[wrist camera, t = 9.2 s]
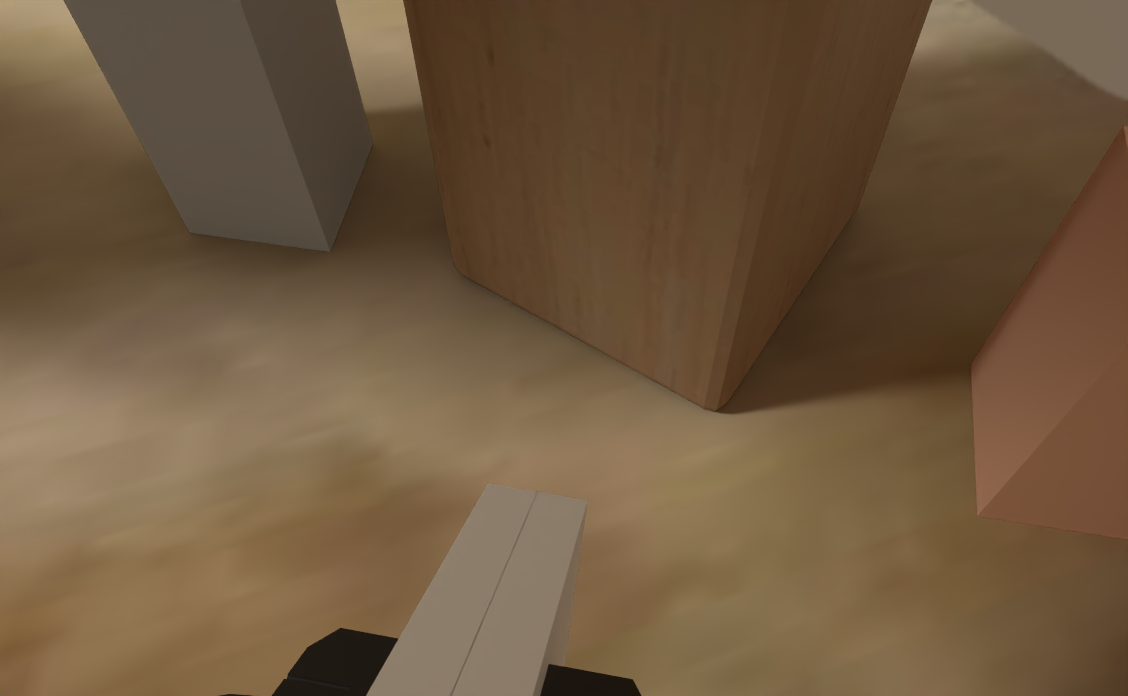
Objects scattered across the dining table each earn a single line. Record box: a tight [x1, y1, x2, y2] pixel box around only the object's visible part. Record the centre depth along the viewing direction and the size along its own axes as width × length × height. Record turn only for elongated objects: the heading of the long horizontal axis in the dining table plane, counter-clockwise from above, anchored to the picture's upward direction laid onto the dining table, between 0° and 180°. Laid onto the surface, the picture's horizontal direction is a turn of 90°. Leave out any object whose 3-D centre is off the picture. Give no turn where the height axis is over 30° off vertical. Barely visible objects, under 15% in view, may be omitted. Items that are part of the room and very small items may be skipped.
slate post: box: [64, 0, 373, 252], centre depth 30 cm, size 5×5×10 cm
